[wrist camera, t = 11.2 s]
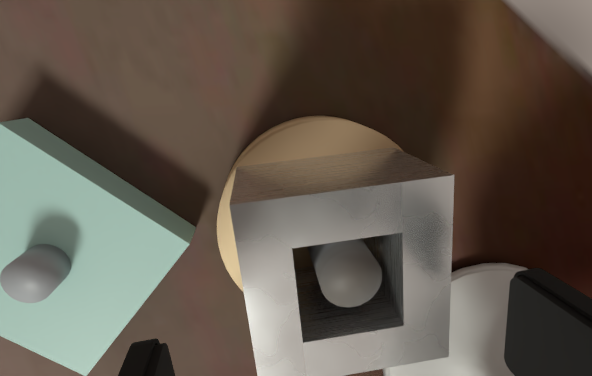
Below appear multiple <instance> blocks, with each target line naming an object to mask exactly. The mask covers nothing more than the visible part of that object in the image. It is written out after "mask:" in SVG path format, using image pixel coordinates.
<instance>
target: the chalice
mask: <svg viewBox="0 0 592 376" xmlns="http://www.w3.org/2000/svg"><path fill="white" fill-rule="evenodd" d="M523 270H528V269H527V268H525V267H522V266H517V265H512V264H508V263H483V264H478V265H474V266H470V267H465V268H461V269H459V270H457V271H454V272H452V273H451V297H450V330H449V357H446V358H440V359H435V360H429V361H423V362H417V363H412V364H406V365H400V366H395V367H389V368H383V375H384V376H515V375H514V374H513V373H512V372H511V371H510V370H509V369H508V367H507V365H506V363H505V360H504V349H505V336H506V324H507V311H508V299H509V287H510V280H511V279H512V278H514V275H515V273H516V272H518V271H523Z"/></svg>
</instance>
